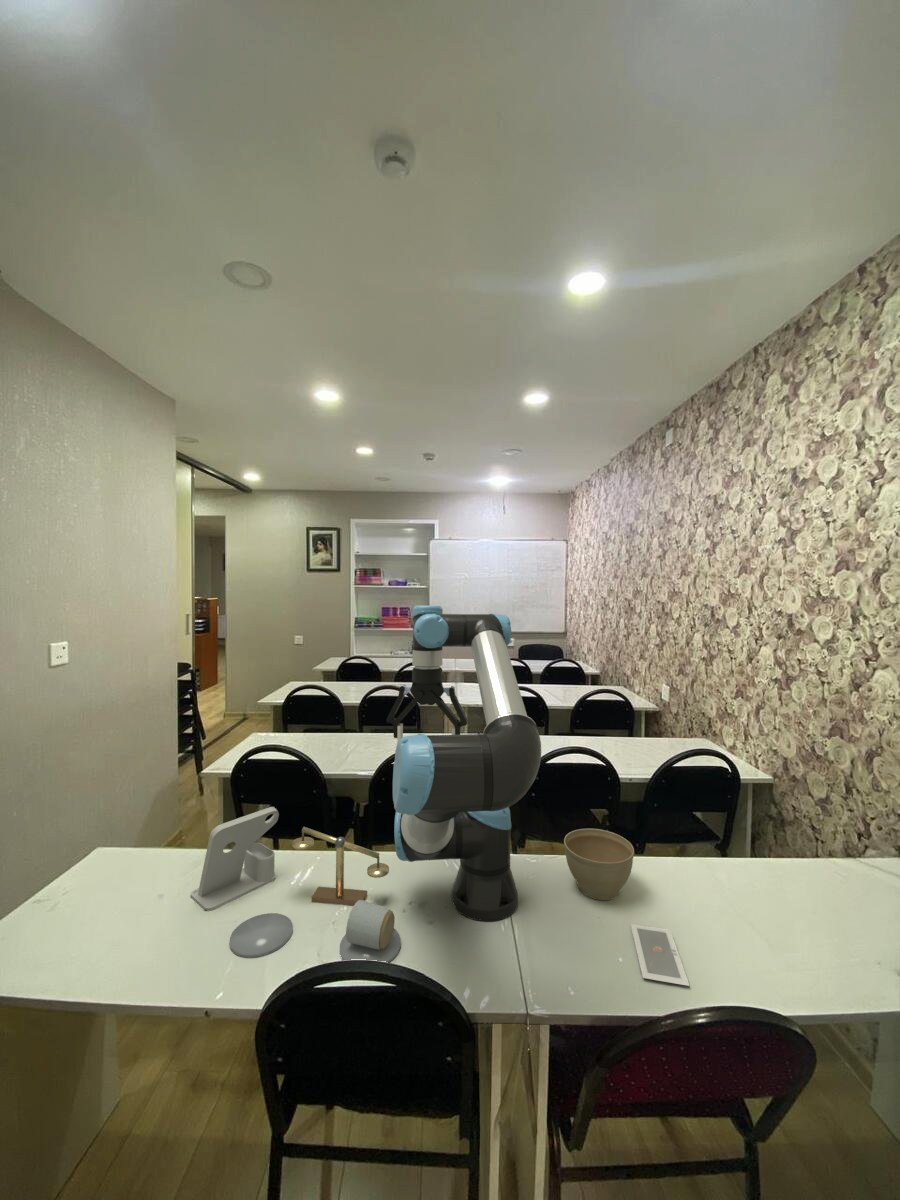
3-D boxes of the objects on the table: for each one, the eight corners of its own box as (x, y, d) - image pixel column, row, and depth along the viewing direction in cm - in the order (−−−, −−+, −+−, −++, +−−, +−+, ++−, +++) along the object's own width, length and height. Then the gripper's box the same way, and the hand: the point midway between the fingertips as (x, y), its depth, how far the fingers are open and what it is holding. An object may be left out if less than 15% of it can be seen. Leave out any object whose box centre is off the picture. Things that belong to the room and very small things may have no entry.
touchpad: (643, 983, 86) (643, 971, 86) (630, 929, 101) (630, 918, 101) (689, 992, 84) (689, 979, 84) (670, 935, 99) (670, 924, 99)
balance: (391, 896, 111) (391, 827, 111) (385, 910, 106) (386, 838, 106) (296, 888, 113) (297, 821, 114) (287, 901, 108) (288, 831, 109)
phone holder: (258, 864, 124) (259, 795, 124) (279, 878, 118) (280, 806, 118) (188, 895, 110) (189, 818, 111) (207, 913, 104) (209, 831, 104)
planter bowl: (556, 871, 122) (556, 828, 122) (617, 870, 123) (617, 828, 123) (575, 911, 106) (575, 862, 106) (645, 910, 106) (646, 861, 107)
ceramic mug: (381, 960, 90) (382, 920, 90) (344, 951, 92) (345, 912, 92) (402, 926, 99) (402, 890, 100) (367, 919, 102) (368, 884, 102)
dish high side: (302, 919, 102) (302, 915, 102) (275, 960, 90) (275, 956, 90) (250, 914, 104) (250, 910, 104) (216, 954, 92) (216, 950, 92)
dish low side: (406, 929, 100) (406, 925, 100) (392, 973, 88) (392, 968, 88) (351, 924, 101) (351, 920, 101) (330, 966, 89) (330, 962, 89)
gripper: (478, 666, 120) (477, 749, 120) (382, 663, 123) (381, 745, 123) (476, 670, 113) (475, 759, 112) (374, 667, 116) (373, 754, 115)
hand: (426, 752), depth 118 cm, fingers open, 13 cm apart
